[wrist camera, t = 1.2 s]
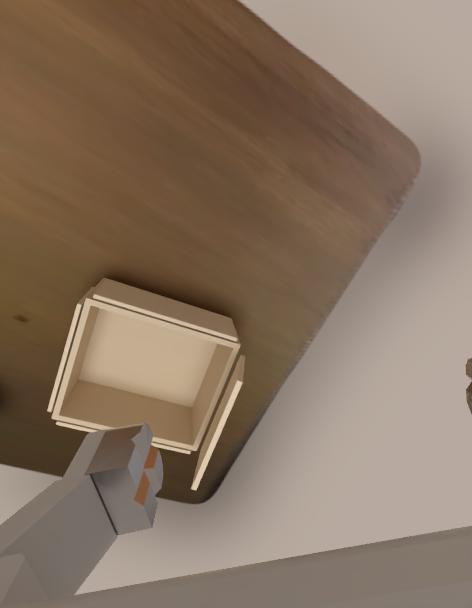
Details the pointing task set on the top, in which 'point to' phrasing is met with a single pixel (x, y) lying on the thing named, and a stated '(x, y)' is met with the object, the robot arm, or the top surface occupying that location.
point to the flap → (219, 420)
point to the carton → (143, 365)
